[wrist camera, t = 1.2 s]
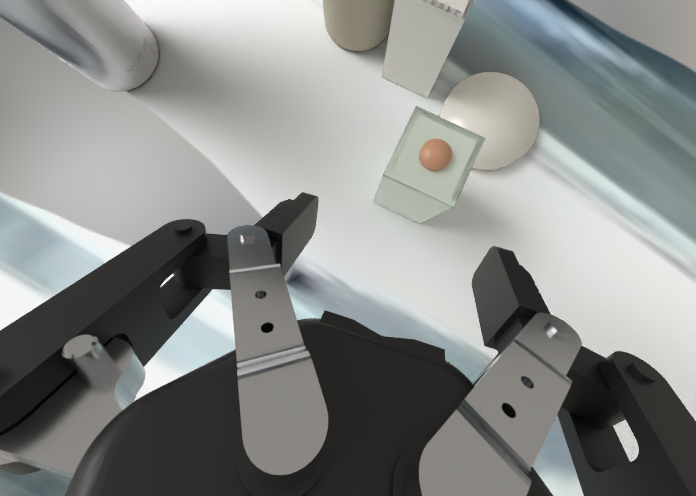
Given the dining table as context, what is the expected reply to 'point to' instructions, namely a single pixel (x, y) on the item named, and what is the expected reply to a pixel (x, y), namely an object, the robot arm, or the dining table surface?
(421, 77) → the tall white lidded box
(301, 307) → the dining table surface
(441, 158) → the pale grey boxy piece
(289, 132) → the dining table surface
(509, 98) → the dish
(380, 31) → the travel mug
